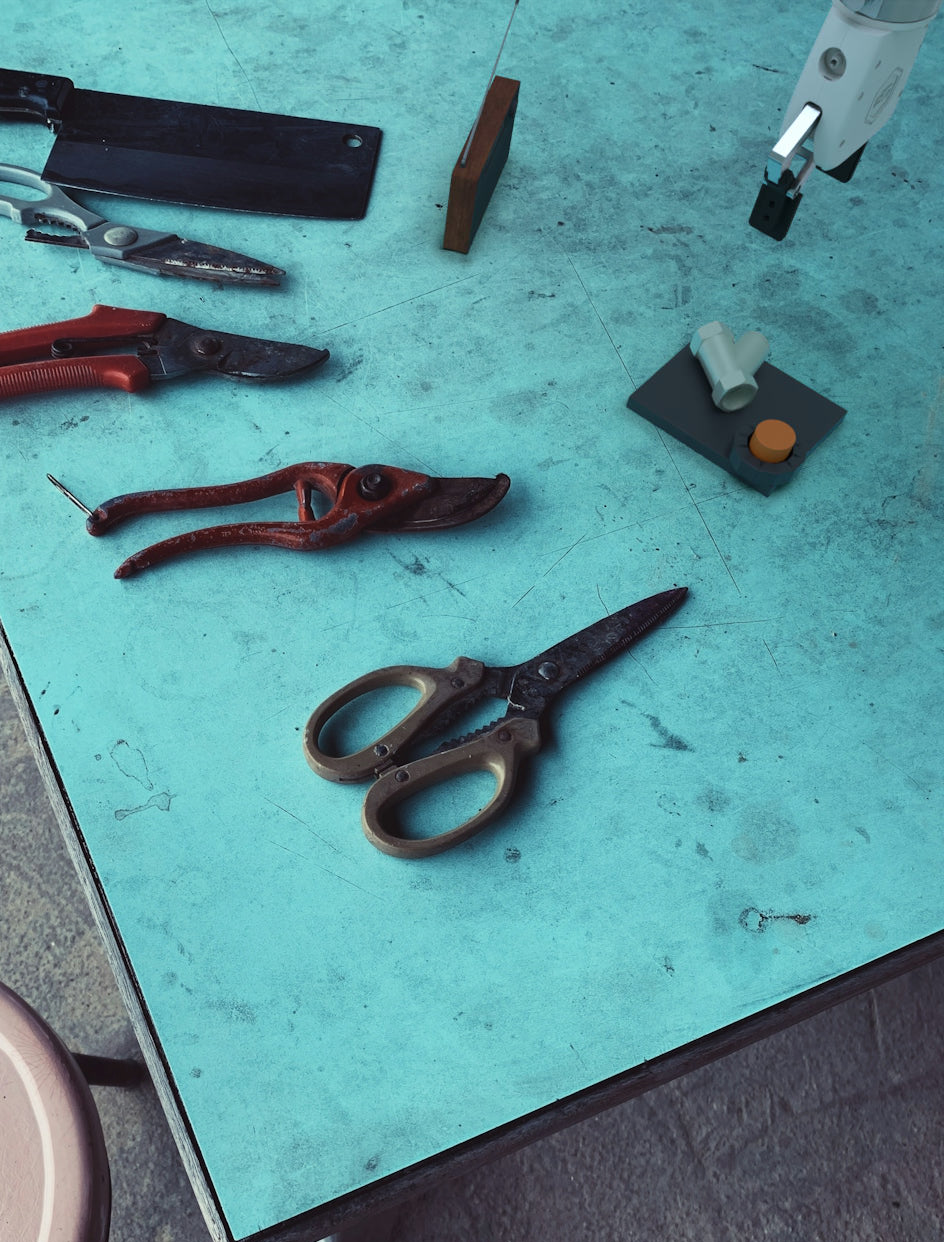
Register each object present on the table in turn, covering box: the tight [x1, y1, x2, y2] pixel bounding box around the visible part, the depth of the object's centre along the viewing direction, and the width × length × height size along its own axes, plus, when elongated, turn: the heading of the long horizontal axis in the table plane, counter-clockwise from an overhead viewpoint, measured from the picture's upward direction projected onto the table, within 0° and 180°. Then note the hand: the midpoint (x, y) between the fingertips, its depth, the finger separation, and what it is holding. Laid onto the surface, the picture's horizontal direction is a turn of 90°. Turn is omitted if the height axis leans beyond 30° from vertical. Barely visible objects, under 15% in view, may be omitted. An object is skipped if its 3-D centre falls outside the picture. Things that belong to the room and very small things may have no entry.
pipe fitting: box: [690, 320, 771, 412], centre depth 112 cm, size 8×4×7 cm
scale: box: [625, 340, 849, 498], centre depth 112 cm, size 17×14×3 cm
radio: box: [442, 0, 522, 254], centre depth 120 cm, size 19×3×15 cm, turn 162°
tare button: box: [749, 420, 796, 463], centre depth 107 cm, size 4×4×2 cm
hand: (799, 202), depth 96 cm, fingers open, 9 cm apart
